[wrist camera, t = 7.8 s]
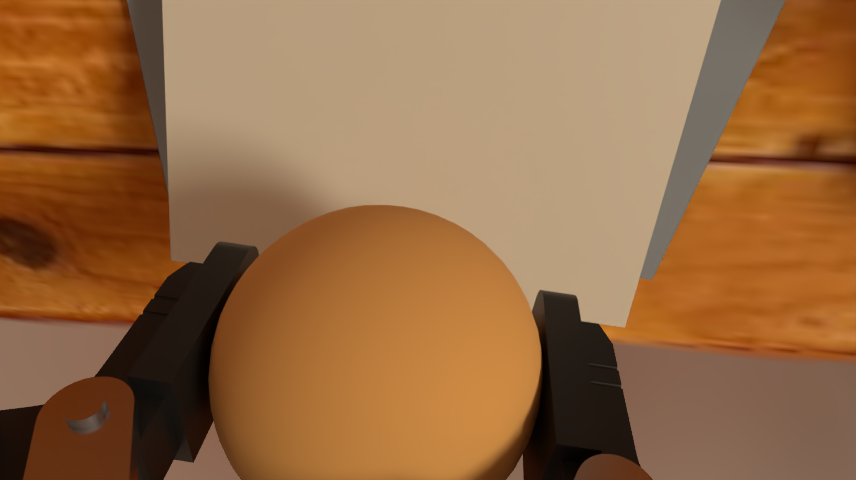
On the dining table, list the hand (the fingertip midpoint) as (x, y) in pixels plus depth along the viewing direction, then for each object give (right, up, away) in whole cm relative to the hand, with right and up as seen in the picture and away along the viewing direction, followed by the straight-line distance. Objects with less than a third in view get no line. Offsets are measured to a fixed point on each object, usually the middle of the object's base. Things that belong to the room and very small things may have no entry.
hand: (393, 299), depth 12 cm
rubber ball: (0, -1, -1) cm, 2 cm away
